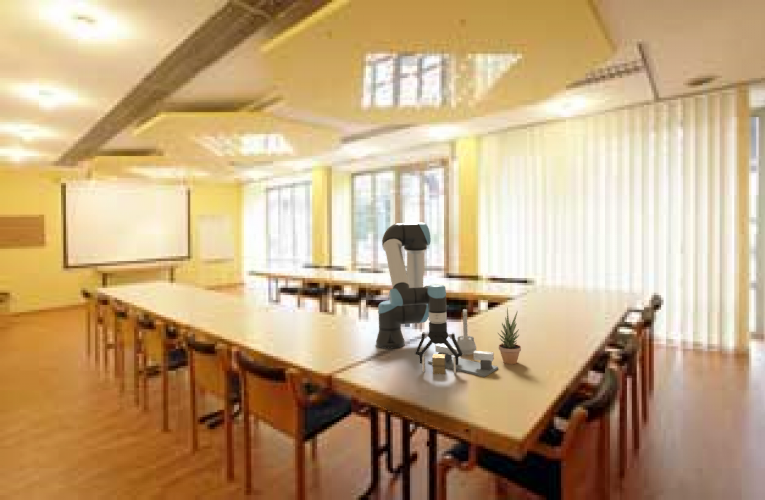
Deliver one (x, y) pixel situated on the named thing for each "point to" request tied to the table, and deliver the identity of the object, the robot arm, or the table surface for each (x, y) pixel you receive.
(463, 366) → the shaft bench
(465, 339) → the engine component
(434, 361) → the tan cardboard block
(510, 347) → the potted plant
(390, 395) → the table surface
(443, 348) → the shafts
